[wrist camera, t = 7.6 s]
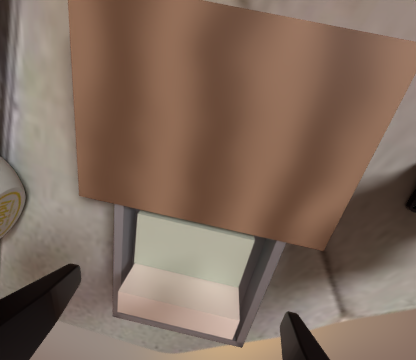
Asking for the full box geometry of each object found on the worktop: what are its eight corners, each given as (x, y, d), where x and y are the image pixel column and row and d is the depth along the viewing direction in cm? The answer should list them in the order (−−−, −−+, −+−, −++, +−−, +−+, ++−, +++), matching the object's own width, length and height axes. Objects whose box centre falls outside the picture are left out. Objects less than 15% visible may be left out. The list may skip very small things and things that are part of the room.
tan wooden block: (384, 57, 14) (430, 44, 11) (307, 225, 19) (323, 250, 16) (103, 1, 15) (66, -27, 11) (104, 180, 20) (79, 195, 17)
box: (279, 221, 19) (286, 241, 17) (240, 320, 25) (242, 347, 22) (130, 187, 20) (114, 202, 17) (125, 292, 25) (112, 316, 23)
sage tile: (252, 223, 19) (254, 240, 17) (237, 267, 21) (238, 287, 19) (148, 199, 19) (137, 213, 17) (144, 245, 22) (133, 262, 19)
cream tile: (239, 320, 16) (232, 339, 17) (237, 267, 21) (232, 284, 22) (118, 291, 17) (117, 311, 17) (144, 246, 22) (143, 263, 23)
